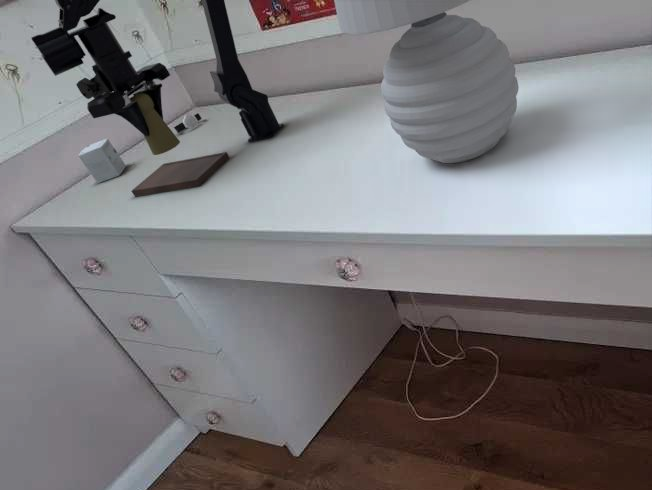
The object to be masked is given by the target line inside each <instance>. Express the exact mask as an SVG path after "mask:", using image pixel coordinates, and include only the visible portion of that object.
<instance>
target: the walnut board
mask: <svg viewBox="0 0 652 490" xmlns="http://www.w3.org/2000/svg"><path fill="white" fill-rule="evenodd" d="M230 159H231V157H230V155H229V154H228V152H227V151H223V152H217V153H212V154H207V155H203V156H198V157H197V156H196V157H192V158H191V157H190V158H186V159H182V160H176V161H170V162H165V163H162V164H161V165H160V166H159V167H158V168H157V169H155V170H154V171H153V172H152V173H151V174H149V175H148V176H147V177H146V178H145V179H143V180H142V181H141V182H140V183H138V184H137V185H136V186H135V187H134V188H132V190H131V193H132V194H133V196H134V198H137V197H144V196H149V195H155V194H161V193H162V194H163V193H167V192H173V191H180V190H186V189H192V188H193V189H194V188H199V187H201V186H202V185H204V183H205V182H206V181H207V180H209V178H211V177H212V176H213V175H214V174H215V173H217V171H218V170H219V169H220V168H222V166H223V165H224V164H226V162H227V161H229V160H230Z"/></svg>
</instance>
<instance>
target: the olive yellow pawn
mask: <svg viewBox="0 0 652 490" xmlns="http://www.w3.org/2000/svg"><path fill="white" fill-rule="evenodd" d="M129 99H130V100H131V102H135V101H137V102H138V105H139V107H140V109H141V112H142V114H143V116H144V119H145V121H146V123H147V126H148V128H149V134H150V136H145V135H144V134H142V135H143V137H144V139H145V141H146V143H147V145H148V147H149V150H150V151H151V153H152V155H153V156H158V155H162V154H165V153H167V152H169V151H171V150H173V149H175V148H177V146H179V144H180V143H181V141H180V140H179V138H178V137H177V136H176V134H175V133H174V132H173V130H172V129H171V128H170V127H169V125H168V123H166V122H165V120H164V118H163V119H162V118H161V117H160V115H159V114H158V113H157V112H156V110H155V109H154V103H153V101H152V99H151V98H150V97H149V96H148V95H147V94H144V93H142V94H138V95H135V96H134V95H132V96H131V97H129Z"/></svg>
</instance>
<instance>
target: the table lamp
mask: <svg viewBox="0 0 652 490" xmlns="http://www.w3.org/2000/svg"><path fill="white" fill-rule="evenodd" d="M470 1H471V0H333V3H334V7H335V11H336V16H337V21H338V26H339V30H340V32H342V33H343V34H346V35H359V36H360V35H366V34H367V35H368V34H369V35H370V34H374V33H379V32H385V31H389V30H393V29H397V28H401V27H404V26H408V25H410V28H408V29H407V30H406V31H405V32H404V33H402V35H401V37H400V39H399V40H397V41H396V42H395V43H394V44H393V45H392V47H391V49H390V52H389V58H388V59H387V60H386V61H385V63H384V65H383V71H382V75H383V79H382V81H381V84H380V93H381V96H382V98H383V99H384V102H383V106H384V107H383V108H384V111H385V114H386V116H387V117H389V121H390V126H391V128H392V129H393V130H394V132H395V133H396V134H397V135H399V137H400V139H401V141H402V142H403V143H404V145H405V146H406V147H407V148H410V149H411V150H414V151H415V152H416V153H417V154H418V155H419V156H421V157H423V158H425V159H429V160H433V161H436V162H438V163H442V164H455V163H463V162H467V161H469V160H473V159H475V158H479V157H481V156H483V155H484V154H486V153H488V152H489V151H491V150H492V149H493V148H494V147H496V146H497V144H499V142H500V140H501V138H503V136H504V135H506V133H507V132H508V130H509V129H510V127H511V125H512V120H513V117H514V115H515V114H516V112H517V108H518V99H517V95H518V93H519V88H520V87H519V82H518V79H517V77H516V67H515V66H516V65H515V64H514V61H513V59H512V58H510V51H509V48H508V45H507V44H506V43H505V42H504V41H503V40H501V39H499V38H498V36H497V34H496V33H495V32H494V31H493V29H491V28H490V27H488V26H484V25H481V23H480V22H479V21H478V20H476V19H475V18H473V17H462V16H460V15H458V14H448V13H446V12H448V11H451V10H453V9H455V8H458V7H460V6H462V5H464V4H466V3H468V2H470Z"/></svg>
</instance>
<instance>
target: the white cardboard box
mask: <svg viewBox="0 0 652 490" xmlns="http://www.w3.org/2000/svg"><path fill="white" fill-rule="evenodd" d="M77 157H78V158H79V160H80V161H81V162H82V164H83V166H84V167H85V168H86V170H87V171H88V173H89V174H90V176H91V177H92V178H93V179H94V181H95V183H97V184H100V183H103V182H106V181H109V180H111V179H113V178H116V177H119V176H120V175H121V174H122V173H123V171H124V170H125V168H126V167H127V165H126V163H125V162H124V160H123V159H122V157H121V156H120V154H119V153H118V151H117V150H116V148H115V147H114V146H113V144H112V143H111V141H110V139H109V138H104V139H101V140H99V141H96V142H93V143H91V144H89V145H86V146H85V147H84V148H83V149H82V150H81V151H80V153H79V154H78V155H77Z"/></svg>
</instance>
